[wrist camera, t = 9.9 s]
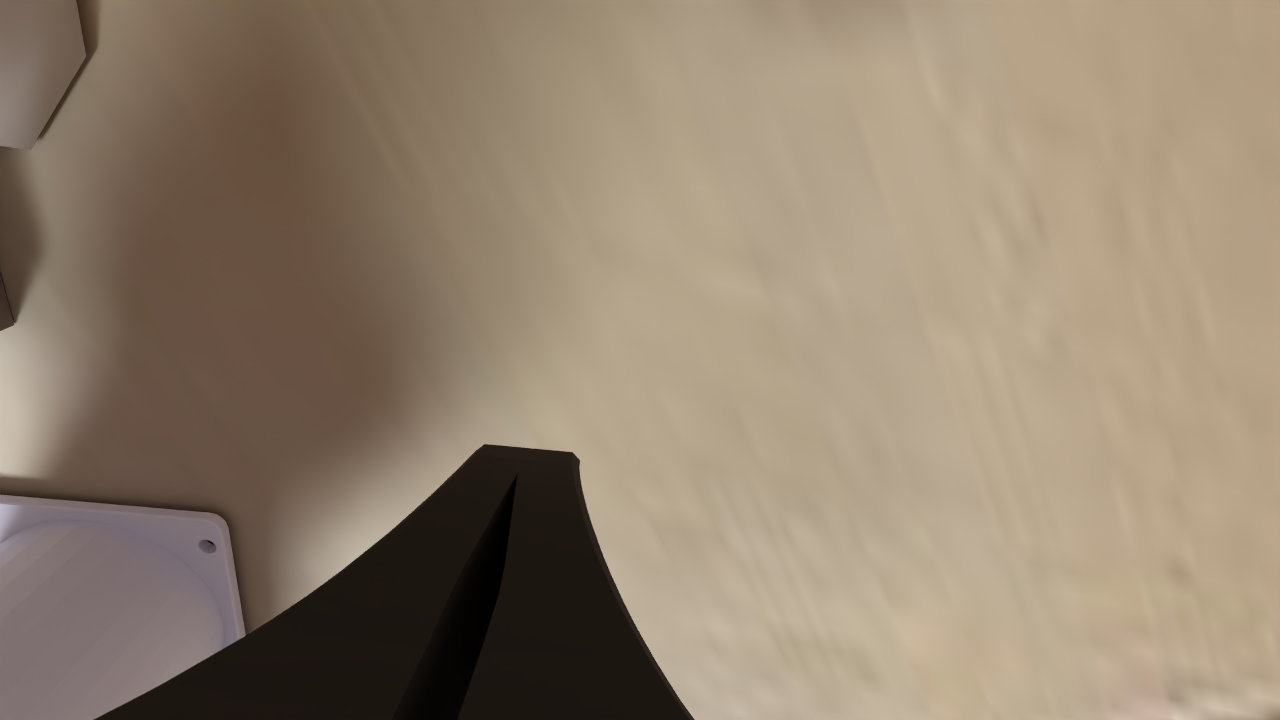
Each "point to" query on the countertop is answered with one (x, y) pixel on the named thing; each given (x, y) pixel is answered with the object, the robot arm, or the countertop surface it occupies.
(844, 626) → the countertop surface
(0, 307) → the spice rail
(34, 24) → the flask
